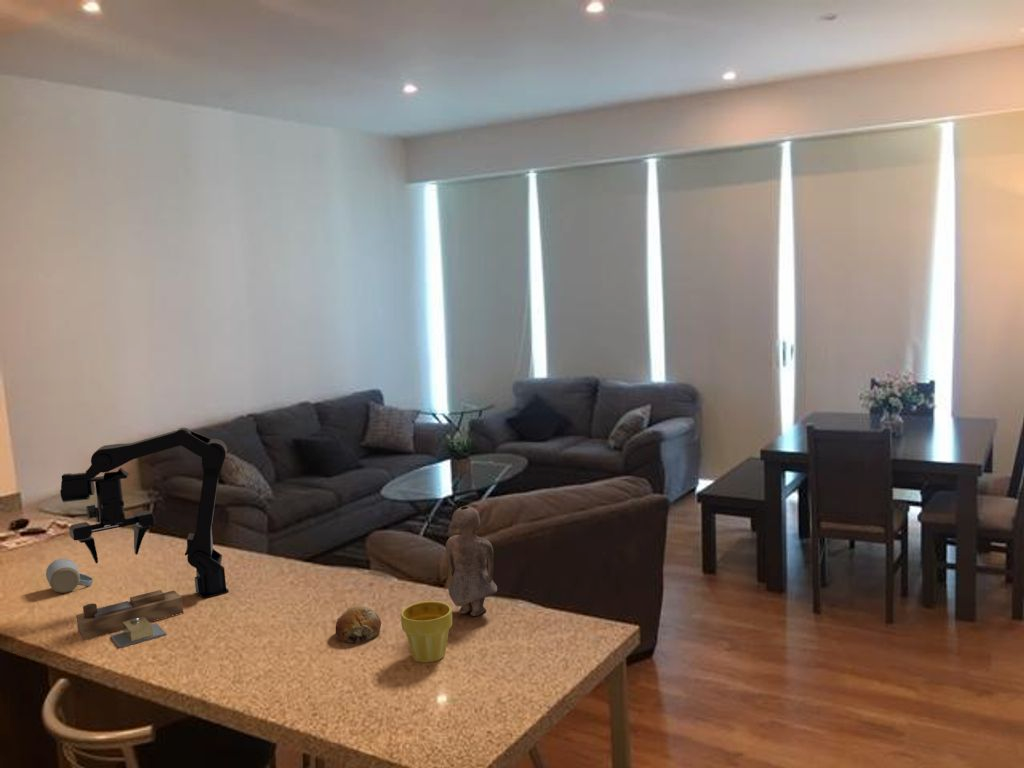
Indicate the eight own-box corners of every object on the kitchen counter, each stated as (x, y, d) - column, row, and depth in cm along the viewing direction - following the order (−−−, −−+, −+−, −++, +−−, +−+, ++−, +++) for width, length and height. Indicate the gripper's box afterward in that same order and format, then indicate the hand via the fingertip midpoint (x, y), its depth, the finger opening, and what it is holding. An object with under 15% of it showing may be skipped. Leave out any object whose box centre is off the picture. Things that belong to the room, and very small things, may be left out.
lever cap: (153, 635, 193) (151, 622, 192) (131, 641, 190) (130, 628, 190) (144, 626, 198) (143, 613, 198) (123, 632, 196) (122, 619, 195)
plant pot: (434, 671, 169) (431, 623, 168) (393, 661, 175) (390, 615, 174) (464, 650, 178) (461, 605, 177) (424, 641, 183) (421, 597, 182)
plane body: (175, 605, 212) (173, 580, 211) (183, 613, 207) (180, 587, 206) (78, 631, 199) (74, 604, 198) (83, 639, 193) (80, 612, 193)
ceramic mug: (51, 597, 222) (48, 568, 221) (47, 588, 229) (44, 561, 228) (96, 588, 228) (93, 560, 227) (90, 580, 235) (88, 552, 234)
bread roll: (386, 646, 191) (391, 609, 193) (365, 644, 182) (370, 606, 184) (347, 642, 194) (352, 605, 196) (324, 640, 185) (330, 602, 187)
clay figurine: (507, 608, 199) (502, 504, 196) (485, 624, 191) (479, 515, 188) (460, 601, 206) (454, 499, 203) (437, 616, 197) (430, 510, 194)
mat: (156, 624, 200) (156, 623, 200) (166, 634, 194) (166, 633, 194) (110, 637, 194) (110, 635, 194) (119, 648, 188) (119, 646, 188)
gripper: (141, 484, 223) (147, 543, 225) (61, 498, 212) (68, 560, 214) (152, 492, 214) (159, 552, 216) (70, 507, 203) (78, 570, 205)
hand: (116, 558), depth 213 cm, fingers open, 9 cm apart
